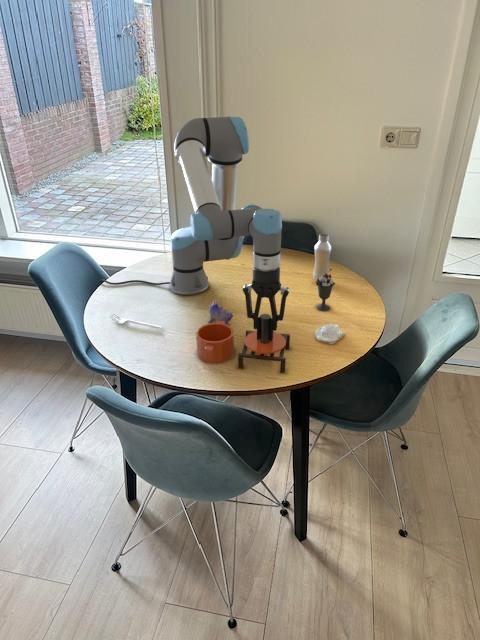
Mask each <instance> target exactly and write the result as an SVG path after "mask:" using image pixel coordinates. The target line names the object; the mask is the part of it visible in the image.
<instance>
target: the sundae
mask: <svg viewBox="0 0 480 640" xmlns="http://www.w3.org/2000/svg"><path fill="white" fill-rule="evenodd" d="M332 270H333V269H332V268H330V269H329V272H331V271H332ZM315 284H316V286H317V288H318V289H317V290H318V292H317V293H318V298H320V299H321V303H319V304H317V305H316V309H317V310H318V311H321V312H327V311H329V310H330V309H331V307H330V305H329V304H326V300H328V299H329V298H330V297H331V295H332V291H333V287H334V286H335V285H336V283H335V281H334V279H333V278H332V274H329V275H328V274H327V273H325V274H324V275H323V276H322V277H320V279H317V281H316V283H315Z"/></svg>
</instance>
